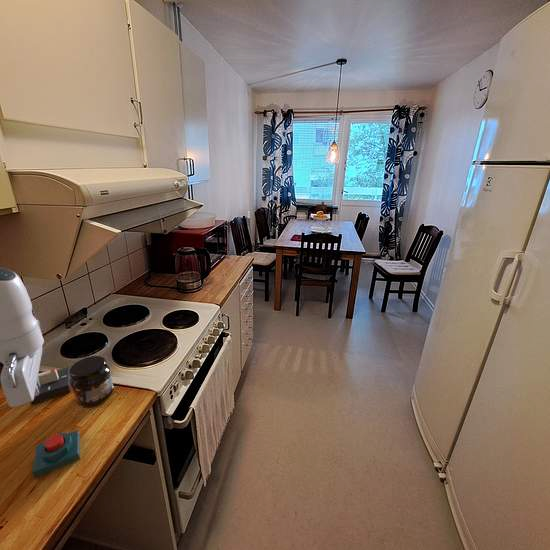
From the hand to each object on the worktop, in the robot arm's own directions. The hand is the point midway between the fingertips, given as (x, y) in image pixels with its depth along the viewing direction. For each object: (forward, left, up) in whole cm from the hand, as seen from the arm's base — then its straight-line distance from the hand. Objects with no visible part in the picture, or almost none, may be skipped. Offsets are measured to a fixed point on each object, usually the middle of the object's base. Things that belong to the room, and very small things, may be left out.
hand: (35, 392), depth 65 cm
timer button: (0, 0, -17) cm, 17 cm away
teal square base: (0, 0, -21) cm, 21 cm away
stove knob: (-3, +29, -18) cm, 34 cm away
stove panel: (-3, +29, -21) cm, 36 cm away
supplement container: (+9, +18, -21) cm, 29 cm away
